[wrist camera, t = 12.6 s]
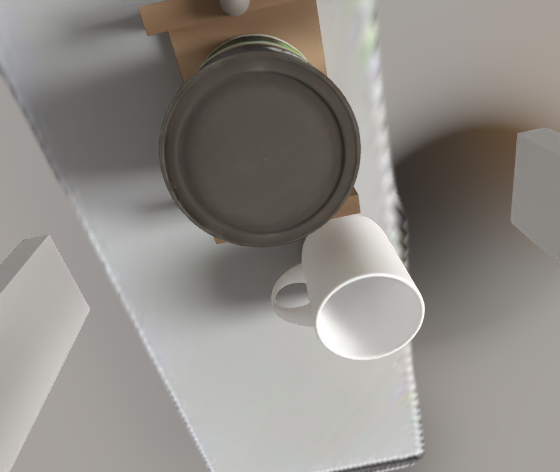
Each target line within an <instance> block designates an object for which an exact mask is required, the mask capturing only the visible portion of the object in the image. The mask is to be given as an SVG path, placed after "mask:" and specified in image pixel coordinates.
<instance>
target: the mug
mask: <svg viewBox="0 0 560 472" xmlns="http://www.w3.org/2000/svg"><path fill="white" fill-rule="evenodd" d="M292 283H306V286H307V291H308V296H309V301H310V303H309V304H307V305H304V306H300V307H295V308H284V307H281V306H279V305H278V304H277V303H276V295H277V293H278V291H279V290H280V289H281V288H283V287H284V286H286V285H289V284H292ZM271 304H272V308H273V310H274V312H275V313H276V314H277V315H278V316H279V317H280V318H282V319H284V320H286V321H288V322H291V323H294V324H298V325H303V326H310V327H315V330H316V333H317V336H318V338H319V340H320V341H321V343H322V344H323V345H324V346H325V347H326V348H327V349H328V350H329V351H331V352H332V353H334V354H336V355H338V356H341V357H343V358H347V359H353V360H371V359H376V358H380V357H384V356H386V355H389V354H391V353H393V352H395V351H397V350H399V349H400V348H402V347H403V346H405V345H406V344H407V343H408V342H409V341H410V340H411V339H412V338H413V337H414V336H415V334H416V333H417V331H418V330H419V328H420V326H421V324H422V321H423V318H424V302H423V299H422V296H421V294H420V292H419V291H418V289H417V287H416V286H415V284H414V282H413V281H412V279H411V277H410V275H409V274H408V272H407V270H406V269H405V267H404V265H403V264H402V262H401V260H400V258H399V257H398V255H397V253H396V252H395V250H394V248H393V247H392V245H391V243H390V242H389V240H388V238H387V236H386V235H385V233H384V232H383V230H382V229H381V228H380V227H379V226H378V225H377V224H376V223H375V222H373V221H372V220H370V219H368V218H366V217H364V216H361V215H356V214H353V215H348V216H344V217H339V218H334V219H330V220H329V221H328V222H327V223H326V224H324V225H323V226H322V227H321V228H319V229H318V230H316V231H315V232H313V233H312V234H310V235H308V236H307V237H306V239H305V242H304V244H303V248H302V262H301V263H300V264H298V265H296V266H294V267H292V268H291V269H289V270H288V271H286V272H285V273H284V274H283V275H282V276H281V277H280V278H279V279H278V280H277V282H276V283H275V285H274V287H273V290H272V294H271Z"/></svg>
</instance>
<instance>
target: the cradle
mask: <svg viewBox="0 0 560 472" xmlns="http://www.w3.org/2000/svg"><path fill="white" fill-rule="evenodd" d="M138 9H139V12H140V15H141V18H142V21H143V24H144V27H145V30H146V33H147V36H150V35H154V34H158V33H162V32H166V31H168V33H169V37H170V40H171V43H172V46H173V50H174V53H175V56H176V59H177V63H178V66H179V69H180V72H181V76H182V79H183V82H184V84H185V83H186V82H187V81H188V80H189V79H190V78H191V77H192V76H193V75H194V74H195V73H196V72H197V71H198V70H199V69H200V67H201V65H202V63H203V62H204V60H205V59H206V57H207V56H208V55H209V54H210V53H211V52H212V51H213V50H214V49H215V48H217V47H218V46H219V45H221V44H222V43H224V42H226V41H228V40H230V39H232V38H234V37H237V36H241V35H246V34H264V35H270V36H274V37H276V38H279V39H281V40H283V41H285V42H287V43H289V44H291V45H292V46H293V47H295V48H296V49H297V50H298V51H300V52H301V53H302V55H303V56H304V57H305V58H306V59H307V61H308V62H309V63H310V64H311V65H312V66H314V67H315V68H317V69H318V70H320V71H321V72H322V73H324V74H325V75H326V76H327V72H326V65H325V59H324V52H323V45H322V38H321V31H320V25H319V18H318V11H317V4H316V0H168V1H163V2H159V3H155V4H151V5H147V6H143V7H139V8H138ZM357 213H360V205H359V198H358V194H357V192H356V190H355V188H354V187H353V189H352V191H351V193H350V195H349V197H348V198H347V200H346V201H345V203H344V204H343V206H342V207H341V208H340V209H339V211H338V212H337V213H336V214H335V215H334V216H333V217H332V218H331V219H334V218H339V217H344V216H348V215H353V214H357ZM214 239H215V242H216V244H219V243H224V242H226V241H223V240H221V239H218V238H216V237H214Z"/></svg>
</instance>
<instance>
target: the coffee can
mask: <svg viewBox="0 0 560 472" xmlns="http://www.w3.org/2000/svg"><path fill="white" fill-rule="evenodd" d="M360 154H361V144H360V134H359V129H358V125H357V121H356V118H355V116H354V113H353V111H352V109H351V107H350V105H349V103H348V102H347V100H346V98H345V96H344V95H343V94H342V92H341V91H340V90H339V88H338V87H337V86H336V85H335V84H334V83H333V82H332V81H331V80H330V79H329V78H328V77H327V76H326V75H325V74H324V73H322V72H321V71H320V70H318V69H317V68H315V67H314V66H312V65H311V64H310V63H309V62H308V61H307V59H306V58H305V57H304V56H303V55H302V53H301V52H300V51H298V50H297V49H296V48H295V47H293V46H292V45H291V44H289V43H287V42H285V41H283V40H281V39H279V38H276V37H274V36H270V35H264V34H246V35H241V36H237V37H234V38H232V39H230V40H228V41H226V42H224V43H222V44H221V45H219V46H218V47H217V48H215V49H214V50H213V51H212V52H211V53H210V54H209V55H208V56H207V57H206V59H205V60H204V62H203V63H202V65H201V67H200V69H199V70H198V71H197V72H196V73H195V74H194V75H193V76H192V77H191V78H190V79H189V80H188V81H187V82H186V83H185V84H184V85H183V86H182V88H181V89H180V90H179V91H178V93H177V94H176V96H175V97H174V99H173V100H172V102H171V104H170V105H169V107H168V110H167V112H166V115H165V118H164V120H163V123H162V128H161V134H160V140H159V158H160V165H161V171H162V174H163V178H164V181H165V183H166V186H167V188H168V191H169V193H170V195H171V196H172V198H173V200H174V201H175V203H176V204H177V206H178V207H179V208H180V210H181V211H182V212H183V213H184V214H185V215H186V216H187V217H188V218H189V219H190V220H191V221H192V222H193V223H194V224H195V225H196V226H198V227H199V228H200V229H202V230H204V231H205V232H207V233H208V234H210V235H212V236H214V237H216V238H218V239H221V240H223V241H226V242H229V243H232V244H236V245H240V246H249V247H271V246H277V245H283V244H287V243H291V242H294V241H297V240H299V239H302V238H304V237H306V236H308V235H310V234H312V233H313V232H315V231H316V230H318V229H319V228H321V227H322V226H323V225H324V224H326V223H327V222H328V221H329V220H330V219H331V218H332V217H333V216H334V215H335V214H336V213H337V212H338V211H339V209H340V208H341V207H342V206H343V204H344V203H345V201H346V200H347V198H348V197H349V195H350V193H351V191H352V189H353V186H354V184H355V181H356V178H357V174H358V170H359V164H360Z"/></svg>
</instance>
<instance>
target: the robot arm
mask: <svg viewBox="0 0 560 472" xmlns="http://www.w3.org/2000/svg"><path fill="white" fill-rule="evenodd" d="M511 223H512V224H513V225H514V226H516V227H517V228H518V229H519V230H520V231H521V232H523V233H524V234H525V235H526V236H527V237H528V238H530V239H531V240H532V241H533V242H534V243H535V244H536V245H538V246H539V247H540V248H541V249H543V250H544V251H545V252H546V253H547V254H548V255H549V256H550V257H552V258H553V259H554V260H555V261H556V262H557V263H559V264H560V133H558V132H556V131H554V130H551V129H549V128H547V127H545V128H541V129H536V130H531V131H526V132H522V133H518V135H517V147H516V159H515V173H514V184H513V198H512V211H511ZM89 311H90V308H89V306H88V304H87V303H86V301H85V299H84V297H83V295H82V294H81V292H80V290H79V288H78V286H77V284H76V282H75V281H74V279H73V277H72V275H71V273H70V272H69V270H68V268H67V266H66V264H65V262H64V261H63V259H62V257H61V255H60V253H59V251H58V250H57V248H56V246H55V244H54V242H53V241H52V239H51V237H50V235H49V234H48V235H44V236H39V237H34V238H30V239H25V240H23V241H22V242H21V243H20V244H19V245H18V246H17V247H16V248H15V249H14V250H13V252H12V253H11V254H10V255H9V256H8V257H7V258H6V259H5V260H4V261H3V262H2V264H1V265H0V472H10V470H11V468H12V466H13V464H14V462H15V460H16V458H17V456H18V454H19V452H20V450H21V448H22V446H23V444H24V442H25V440H26V438H27V436H28V434H29V432H30V430H31V428H32V426H33V424H34V421H35V420H36V418H37V415H38V414H39V412H40V410H41V408H42V405H43V404H44V402H45V399H46V397H47V395H48V393H49V391H50V389H51V387H52V385H53V383H54V381H55V379H56V377H57V375H58V373H59V371H60V369H61V367H62V365H63V363H64V361H65V359H66V357H67V355H68V353H69V351H70V349H71V347H72V345H73V343H74V341H75V339H76V337H77V335H78V333H79V331H80V329H81V327H82V325H83V323H84V321H85V319H86V317H87V315H88V313H89Z"/></svg>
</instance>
